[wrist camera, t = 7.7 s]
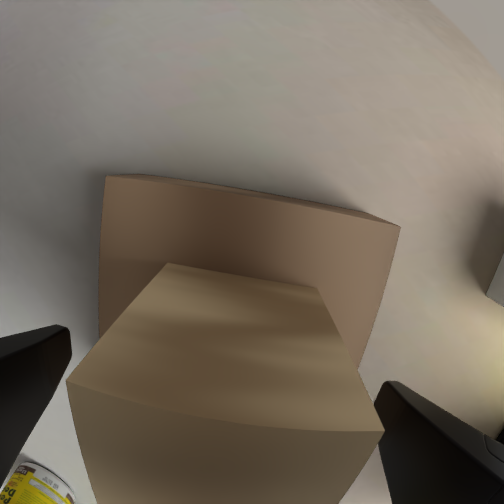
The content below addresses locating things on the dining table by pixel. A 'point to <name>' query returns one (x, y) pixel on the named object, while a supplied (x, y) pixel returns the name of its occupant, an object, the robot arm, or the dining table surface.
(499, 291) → the grey block
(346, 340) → the walnut block
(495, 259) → the dining table surface
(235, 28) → the dining table surface
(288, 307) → the oak block
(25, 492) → the supplement bottle
